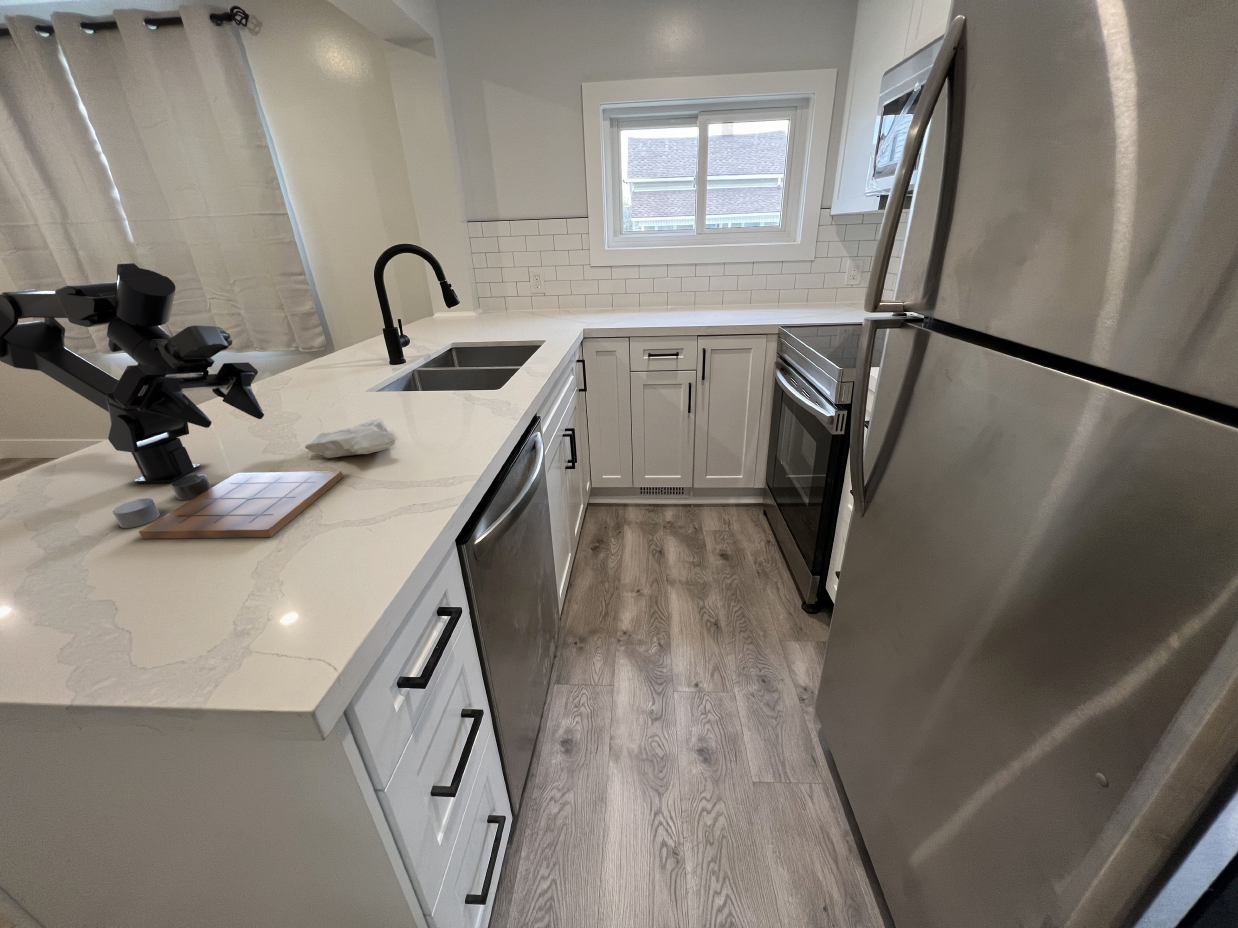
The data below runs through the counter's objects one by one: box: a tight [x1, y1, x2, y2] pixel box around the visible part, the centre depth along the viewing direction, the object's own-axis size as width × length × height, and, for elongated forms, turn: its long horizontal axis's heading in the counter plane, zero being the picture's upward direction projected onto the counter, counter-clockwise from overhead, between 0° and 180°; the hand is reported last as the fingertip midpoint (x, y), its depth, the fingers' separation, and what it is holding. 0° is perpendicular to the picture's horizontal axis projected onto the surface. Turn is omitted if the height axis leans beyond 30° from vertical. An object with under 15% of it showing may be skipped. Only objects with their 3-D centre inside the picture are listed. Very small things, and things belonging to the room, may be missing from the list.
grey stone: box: [112, 497, 161, 529], centre depth 71 cm, size 4×4×2 cm
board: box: [138, 470, 344, 540], centre depth 74 cm, size 18×18×1 cm
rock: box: [304, 417, 396, 459], centre depth 92 cm, size 21×5×15 cm
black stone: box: [170, 473, 213, 501], centre depth 78 cm, size 4×4×2 cm
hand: (237, 421), depth 75 cm, fingers open, 9 cm apart
